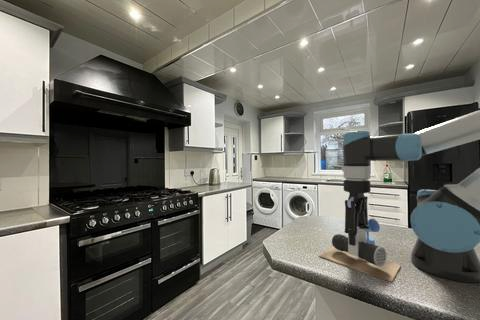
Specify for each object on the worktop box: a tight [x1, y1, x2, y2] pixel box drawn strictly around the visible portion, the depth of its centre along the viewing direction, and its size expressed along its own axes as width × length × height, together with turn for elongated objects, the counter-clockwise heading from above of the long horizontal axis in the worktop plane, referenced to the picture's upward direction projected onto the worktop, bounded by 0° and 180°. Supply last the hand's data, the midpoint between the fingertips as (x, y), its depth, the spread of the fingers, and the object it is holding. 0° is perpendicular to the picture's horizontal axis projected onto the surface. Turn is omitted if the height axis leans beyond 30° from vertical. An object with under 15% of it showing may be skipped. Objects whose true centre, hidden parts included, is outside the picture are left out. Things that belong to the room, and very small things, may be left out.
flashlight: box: [331, 233, 388, 267], centre depth 65 cm, size 15×5×5 cm, turn 26°
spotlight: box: [366, 218, 381, 245], centre depth 79 cm, size 5×10×7 cm
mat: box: [318, 245, 402, 283], centre depth 65 cm, size 20×12×1 cm, turn 42°
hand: (357, 251), depth 65 cm, fingers closed on flashlight, 6 cm apart
